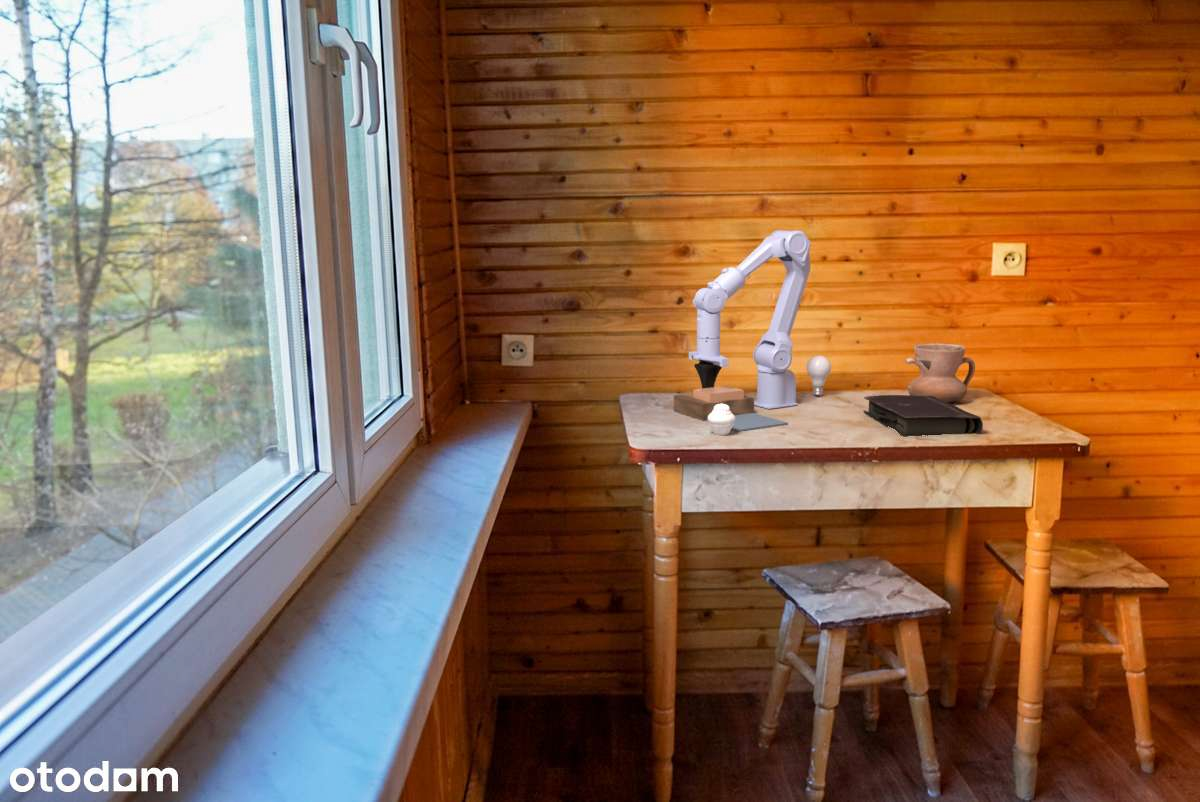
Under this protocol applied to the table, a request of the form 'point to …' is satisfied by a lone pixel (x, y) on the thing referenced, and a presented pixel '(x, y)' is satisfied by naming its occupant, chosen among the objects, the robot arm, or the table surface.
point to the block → (718, 393)
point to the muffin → (721, 419)
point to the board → (710, 406)
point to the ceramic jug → (940, 371)
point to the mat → (754, 422)
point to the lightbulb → (818, 372)
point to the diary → (921, 415)
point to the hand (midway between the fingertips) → (707, 391)
